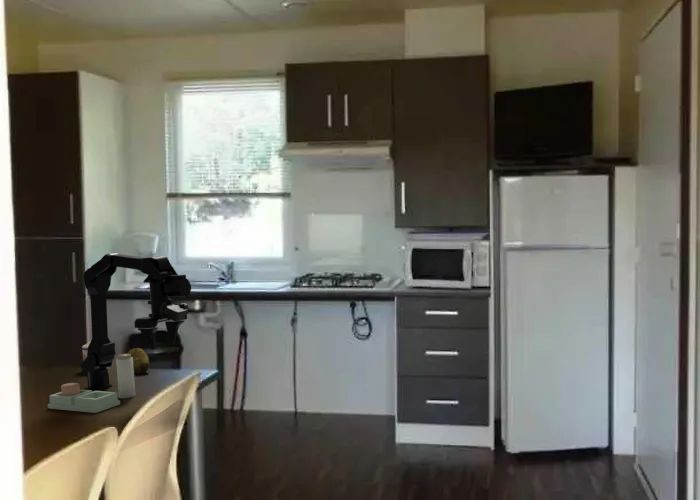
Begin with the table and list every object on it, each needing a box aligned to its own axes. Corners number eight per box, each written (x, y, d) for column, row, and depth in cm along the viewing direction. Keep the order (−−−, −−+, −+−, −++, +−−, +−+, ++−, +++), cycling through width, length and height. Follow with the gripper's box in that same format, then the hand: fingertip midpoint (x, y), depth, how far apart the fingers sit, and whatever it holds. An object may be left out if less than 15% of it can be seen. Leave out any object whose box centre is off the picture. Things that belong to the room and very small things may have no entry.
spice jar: (115, 397, 252) (112, 356, 251) (126, 394, 257) (123, 353, 256) (127, 398, 250) (124, 357, 249) (138, 395, 254) (135, 353, 254)
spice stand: (48, 408, 243) (46, 387, 243) (73, 400, 252) (71, 380, 252) (95, 412, 235) (94, 391, 234) (120, 404, 243) (118, 383, 243)
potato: (125, 376, 284) (123, 353, 283) (127, 369, 296) (126, 347, 296) (149, 374, 286) (148, 351, 285) (151, 367, 298) (149, 345, 298)
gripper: (160, 301, 241) (164, 353, 242) (199, 293, 258) (202, 341, 259) (131, 300, 246) (135, 351, 247) (171, 292, 263) (174, 340, 264)
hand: (163, 346), depth 254 cm, fingers open, 9 cm apart
